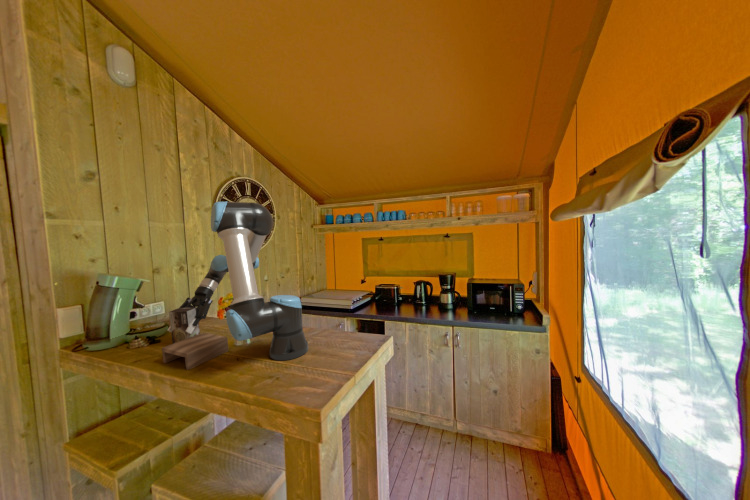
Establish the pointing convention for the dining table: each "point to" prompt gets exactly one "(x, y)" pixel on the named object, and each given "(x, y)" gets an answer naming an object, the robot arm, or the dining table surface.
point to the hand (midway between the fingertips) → (179, 332)
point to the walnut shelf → (196, 349)
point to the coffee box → (182, 323)
